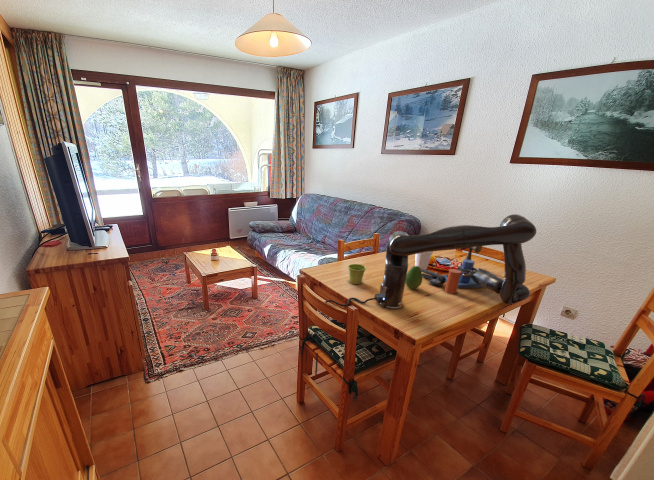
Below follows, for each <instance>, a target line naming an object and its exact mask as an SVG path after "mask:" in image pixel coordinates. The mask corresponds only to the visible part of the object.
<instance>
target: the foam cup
mask: <svg viewBox="0 0 654 480" xmlns="http://www.w3.org/2000/svg"><path fill="white" fill-rule="evenodd" d="M433 252H434V251H430V252H423V253H418V254H415V258H414V266H419V267H420V269H421V270H422V269H423V270H427V269H428V267H429V264H430V261H431V259H432V255H433Z"/></svg>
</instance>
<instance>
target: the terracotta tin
mask: <svg viewBox="0 0 654 480" xmlns="http://www.w3.org/2000/svg"><path fill="white" fill-rule="evenodd" d="M447 275H448V278H447V281H445V286H444V287H445V288H444V292H445V293H446V294H451V295H456V294H457V292H458V289H459V288H458V284H459V280H460V276H461V271H459V270H457V269H456V268H453V269H452V268H450V269H449V270H448V273H447Z"/></svg>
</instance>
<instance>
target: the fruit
mask: <svg viewBox="0 0 654 480" xmlns="http://www.w3.org/2000/svg"><path fill="white" fill-rule="evenodd" d="M422 273H423V272H421V269H420V267H419V266H415V265H414V266H412V267H410V269H408V271H407V276H406V281H405V286H407V288H409V289H411V290H416V289H418V288H419V287H420V286H421V285H422V283H423V276H422Z"/></svg>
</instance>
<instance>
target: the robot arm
mask: <svg viewBox="0 0 654 480" xmlns="http://www.w3.org/2000/svg"><path fill="white" fill-rule="evenodd" d="M536 234H537V227H536V226H535V225H534V223H533V222H532V221H530V220H529V219H528V218H526V217H525V216H523V215H521V214H517V213H516V214H510V215H507V216H505V217H504V218H503V219H502V221H500V224H499V226H481V225H473V224H460V225H452V226H447V227H443V228H440V229H437V230H435V231H432V232H430V233H425V234H417V235H416V234H415V235H410V234H408V233H407V232H405V231H402V230H401V231H400V230H397V231H394V232H393V233H392V234H390V236H389V237H388V240H387V244H386V250H385V251H386V252H385V265H384V272H383V279H382V282H381V283H380V286H379V293H375V294H374V297H372V298H368V299H367V298H366V299H365V300H364V301H363V300H359V299H358V298H357V297H349V298H348V300H347V303H346V304H343V303H340V302H337V301H335V300H333V299H327V300H325V301H327V302H326V303H330V302H331V303H333V304H335V305H337V306H340V307H348V306H349V305H350V301H351V300H354V301H356V302H358V303H360V304H366V303H368V302H369V301H375V302H376V303H377V304H380V305H381V306H382V308H384V309H386V308H387V309H392V310H396V309H401V308H402V305H403V299H404V293H405V287H406V282H405V281H406V276H407V273H408V271H409V256H413V255H416V254H418V253H423V252H430V251H433V252H442V251H452V250H460V249H461V250H463V249H462V248H467V249H470V248H469V247H478V246H482V247H485V246H486V247H487V246H500V245H501V246H502V249H503V258H504V278H503V277H502V278H501V277H500V276H497V275H496V274H495V273H492V272H491V271H489V270H486V269H483V268H481V267H478V268H477V267H473V270H470V269H464V268H462V267H461V266H459V265H458V266H457V269H456V270H459V271H461V276H462V277H464V278H465V277H466V276H468V277H470V278H473V281H474V282H475V283H477V284H478V285H480V286H482V287H481V288H484V289H487V290H489V291H491V292H492V293H494V294H496V295H499V298H500V300H501V301H502V302H503V304H505V305H514V304H516V303H518V302H519V303H520V302H522V301H524V300H526V299H528V298H530V296H531V291H530V289H529V287H528V286H527V285H525V284H524V283H525V282H526V275H527V266H526V259H525V256H524V251H523V247H522V244H524V243H527V242H529V241H531V240H532V239H534V237H536ZM464 270H465V271H466V272H465V271H464ZM468 272H469V274H468ZM318 359H319V353H318V352H316V353H315V373H314V375H315V376H317V375H318V361H319V360H318Z"/></svg>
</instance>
